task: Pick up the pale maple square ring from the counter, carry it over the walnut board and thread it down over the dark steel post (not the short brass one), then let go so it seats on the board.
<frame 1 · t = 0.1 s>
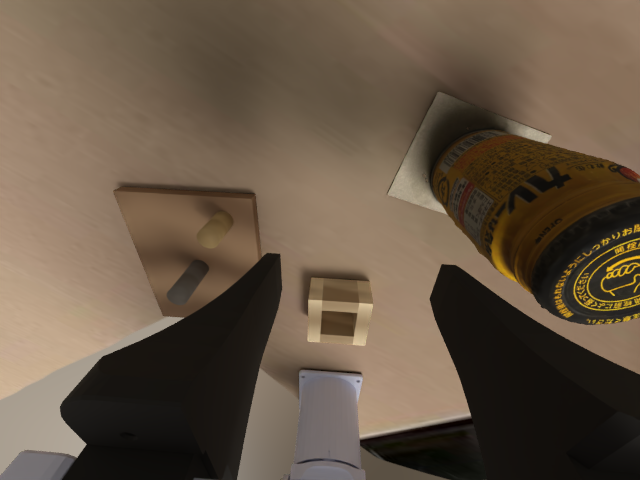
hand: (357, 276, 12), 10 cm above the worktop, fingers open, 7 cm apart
condiment: (461, 166, 19), on the worktop
ring: (338, 300, 26), on the worktop
post board: (205, 260, 24), on the worktop
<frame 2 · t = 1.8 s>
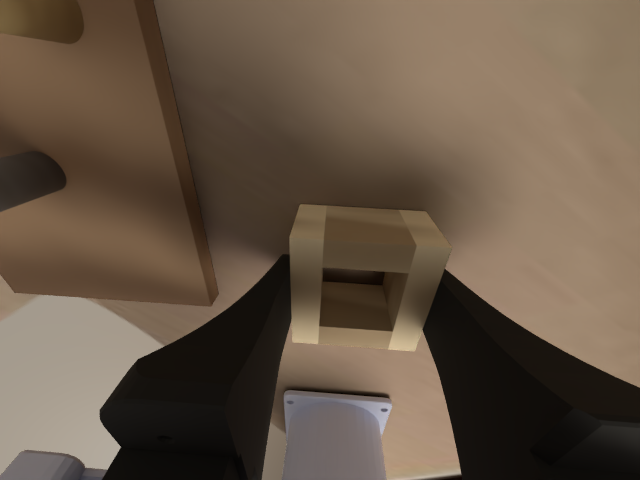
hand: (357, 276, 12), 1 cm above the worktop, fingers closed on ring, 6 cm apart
ring: (355, 259, 13), on the worktop, touching gripper
post board: (67, 165, 11), on the worktop
when the fingers open (4 cm above the worktop, at t = 6.0 s): ring drops 2 cm, resting on post board.
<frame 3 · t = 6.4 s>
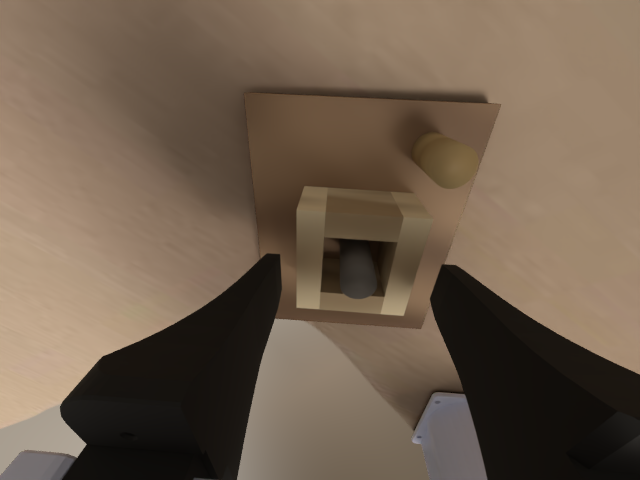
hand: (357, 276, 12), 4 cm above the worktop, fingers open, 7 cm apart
ring: (352, 236, 14), point 1 cm above the worktop, touching post board
post board: (352, 230, 15), on the worktop
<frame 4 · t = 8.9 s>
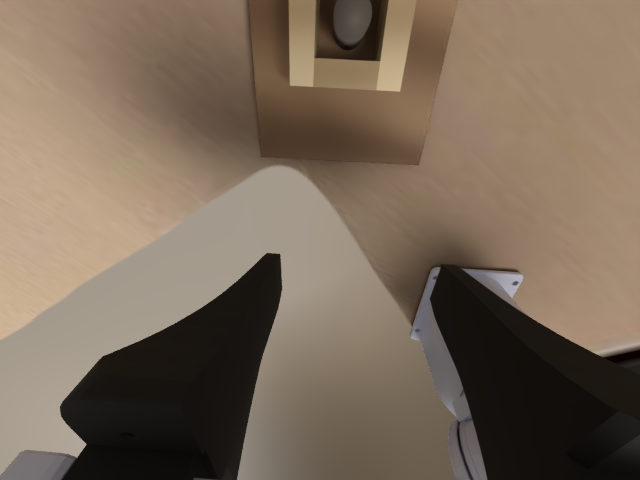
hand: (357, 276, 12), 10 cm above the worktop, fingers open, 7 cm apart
ring: (348, 29, 14), point 1 cm above the worktop, touching post board
post board: (348, 35, 15), on the worktop
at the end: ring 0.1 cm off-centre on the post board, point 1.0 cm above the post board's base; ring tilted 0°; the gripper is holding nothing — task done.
